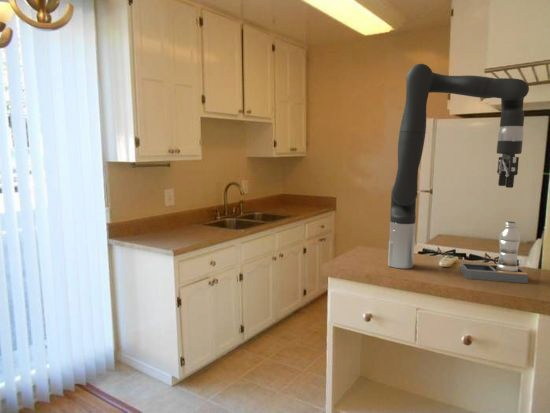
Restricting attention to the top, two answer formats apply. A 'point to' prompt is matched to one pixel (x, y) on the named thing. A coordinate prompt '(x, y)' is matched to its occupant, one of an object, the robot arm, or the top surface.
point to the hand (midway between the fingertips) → (505, 186)
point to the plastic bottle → (508, 248)
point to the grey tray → (492, 273)
